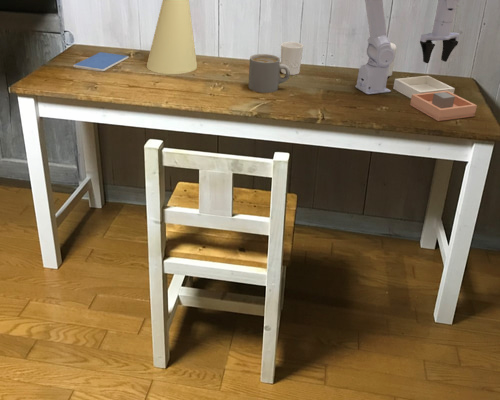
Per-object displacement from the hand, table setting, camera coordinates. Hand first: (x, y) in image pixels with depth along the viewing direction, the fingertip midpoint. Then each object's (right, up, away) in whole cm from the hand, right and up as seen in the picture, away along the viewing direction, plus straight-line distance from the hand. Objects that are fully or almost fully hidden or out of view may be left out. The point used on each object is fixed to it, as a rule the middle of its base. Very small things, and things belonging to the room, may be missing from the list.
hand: (434, 61), depth 192 cm
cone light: (-91, +3, +16) cm, 93 cm away
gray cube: (-2, -18, -14) cm, 23 cm away
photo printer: (-16, -2, +14) cm, 21 cm away
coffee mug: (-57, -10, -3) cm, 58 cm away
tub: (-4, -11, -1) cm, 12 cm away
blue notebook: (-117, +3, +15) cm, 118 cm away
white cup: (-48, -1, +14) cm, 50 cm away
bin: (-2, -19, -14) cm, 23 cm away
